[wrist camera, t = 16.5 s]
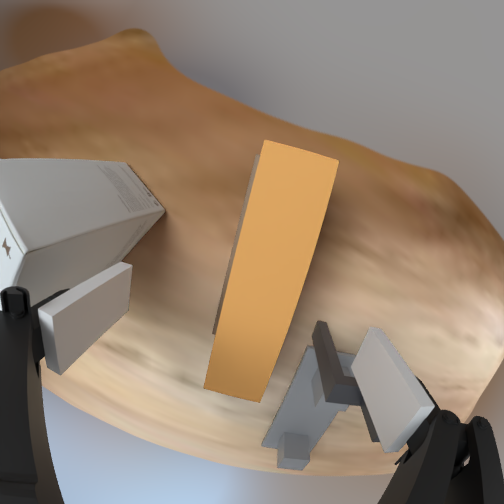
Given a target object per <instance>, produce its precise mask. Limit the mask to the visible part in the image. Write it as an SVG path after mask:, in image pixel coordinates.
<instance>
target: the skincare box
mask: <svg viewBox="0 0 504 504" xmlns="http://www.w3.org/2000/svg"><path fill="white" fill-rule="evenodd" d="M164 213H165V209H164V208H163V207H162V206H161V204H160V203H159V202H158V201H157V200H156V198H155V197H154V196H153V195H152V194H151V192H150V191H149V190H148V189H147V188H146V186H145V185H144V184H143V183H142V182H141V181H140V179H139V178H138V177H137V176H136V175H135V173H134V172H133V171H132V170H131V169H130V167H129V166H128V165H127V164H126V163H124V162H112V161H96V160H78V159H39V158H37V159H35V158H24V159H0V292H1V291H2V290H3V289H5V288H7V287H11V286H19V287H23V288H26V289H27V290H28V291H29V294H30V305H31V307H32V306H33V305H35V304H37V303H39V302H40V301H42V300H44V299H46V298H47V297H49V296H52V294H54V293H56V292H58V291H60V290H64V289H68V288H69V289H72V288H74V287H75V286H77V285H79V284H81V283H82V282H84V281H86V280H88V279H90V278H91V277H93V276H95V275H97V274H99V273H100V272H102V271H104V270H106V269H108V268H110V267H112V266H113V265H115V264H117V263H119V262H121V261H122V260H123V258H124V257H125V256H126V255H127V254H128V253H129V252H130V250H131V249H132V248H133V247H134V246H135V245H136V244H137V243H138V241H139V240H140V239H141V238H142V237H143V236H144V235H145V234H146V233H147V231H148V230H149V229H150V228H151V227H152V226H153V225H154V224H155V223H156V222H157V220H158V219H159V218H160V217H161V216H162V215H163V214H164ZM0 310H1V311H2V305H1V298H0Z"/></svg>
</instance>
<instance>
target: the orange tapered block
mask: <svg viewBox="0 0 504 504" xmlns="http://www.w3.org/2000/svg"><path fill="white" fill-rule="evenodd" d="M338 163H339V161H338V160H335V159H332V158H329V157H326V156H322V155H319V154H316V153H313V152H309V151H306V150H302V149H299V148H295V147H291V146H288V145H284V144H280V143H276V142H272V141H268V140H264V144H263V147H262V151H261V155H260V159H259V162H258V166H257V170H256V174H255V178H254V181H253V185H252V189H251V193H250V197H249V201H248V205H247V209H246V213H245V216H244V220H243V224H242V228H241V232H240V236H239V240H238V244H237V248H236V252H235V256H234V260H233V264H232V268H231V273H230V277H229V281H228V285H227V289H226V293H225V297H224V301H223V306H222V310H221V314H220V318H219V322H218V327H217V331H216V335H215V339H214V344H213V348H212V352H211V357H210V361H209V365H208V370H207V374H206V379H205V383H204V389H208V390H211V391H215V392H218V393H222V394H226V395H229V396H233V397H237V398H241V399H246V400H250V401H254V402H259V403H260V401H261V399H262V396H263V394H264V391H265V389H266V386H267V384H268V381H269V379H270V376H271V374H272V371H273V369H274V366H275V363H276V361H277V358H278V356H279V353H280V350H281V348H282V345H283V342H284V339H285V337H286V334H287V331H288V328H289V326H290V323H291V320H292V317H293V314H294V311H295V308H296V306H297V303H298V300H299V297H300V294H301V291H302V288H303V285H304V282H305V279H306V275H307V272H308V269H309V266H310V263H311V260H312V256H313V253H314V250H315V247H316V243H317V240H318V237H319V233H320V230H321V226H322V223H323V220H324V216H325V212H326V209H327V205H328V202H329V198H330V194H331V191H332V187H333V183H334V179H335V175H336V171H337V167H338Z"/></svg>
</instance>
